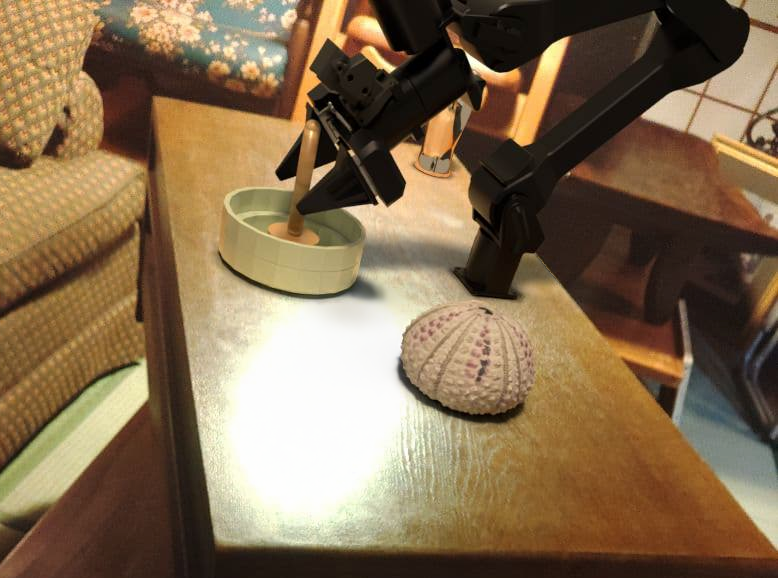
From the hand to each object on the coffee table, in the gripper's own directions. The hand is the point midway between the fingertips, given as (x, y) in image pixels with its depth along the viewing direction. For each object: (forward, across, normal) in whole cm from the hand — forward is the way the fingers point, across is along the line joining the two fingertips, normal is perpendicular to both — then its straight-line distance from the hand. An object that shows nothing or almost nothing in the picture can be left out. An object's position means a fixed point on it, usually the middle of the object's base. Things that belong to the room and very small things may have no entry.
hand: (287, 193), depth 77 cm
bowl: (+4, 0, +6) cm, 8 cm away
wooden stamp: (+4, 0, +6) cm, 7 cm away
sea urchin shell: (-4, +23, +15) cm, 28 cm away
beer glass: (-20, -42, +32) cm, 56 cm away
